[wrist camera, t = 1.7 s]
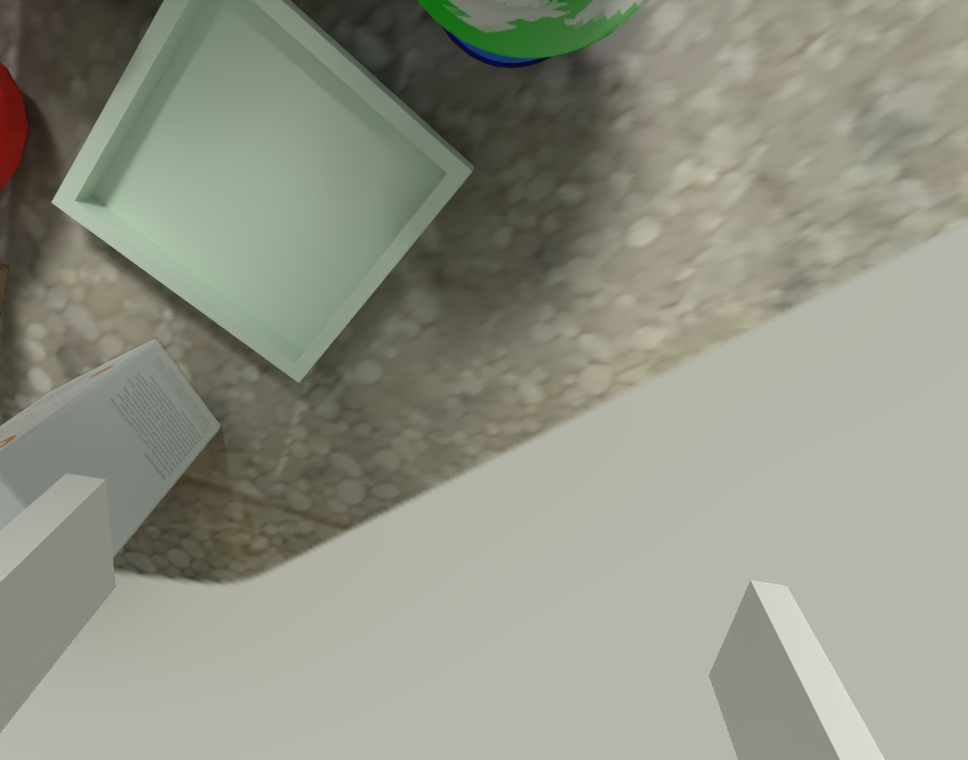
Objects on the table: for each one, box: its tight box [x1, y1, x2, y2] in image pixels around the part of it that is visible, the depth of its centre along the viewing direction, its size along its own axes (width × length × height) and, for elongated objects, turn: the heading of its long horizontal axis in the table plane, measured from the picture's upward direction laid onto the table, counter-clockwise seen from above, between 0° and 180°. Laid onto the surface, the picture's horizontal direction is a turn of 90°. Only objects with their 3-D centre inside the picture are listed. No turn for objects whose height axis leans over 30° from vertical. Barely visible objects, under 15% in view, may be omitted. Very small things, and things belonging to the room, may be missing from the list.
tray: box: [51, 0, 474, 383], centre depth 30 cm, size 14×14×2 cm
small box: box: [0, 339, 221, 558], centre depth 31 cm, size 8×6×13 cm
